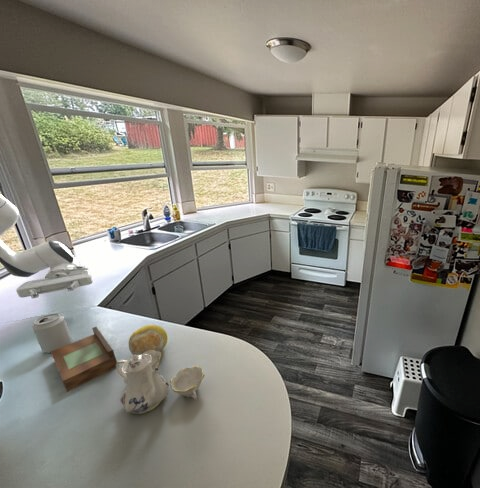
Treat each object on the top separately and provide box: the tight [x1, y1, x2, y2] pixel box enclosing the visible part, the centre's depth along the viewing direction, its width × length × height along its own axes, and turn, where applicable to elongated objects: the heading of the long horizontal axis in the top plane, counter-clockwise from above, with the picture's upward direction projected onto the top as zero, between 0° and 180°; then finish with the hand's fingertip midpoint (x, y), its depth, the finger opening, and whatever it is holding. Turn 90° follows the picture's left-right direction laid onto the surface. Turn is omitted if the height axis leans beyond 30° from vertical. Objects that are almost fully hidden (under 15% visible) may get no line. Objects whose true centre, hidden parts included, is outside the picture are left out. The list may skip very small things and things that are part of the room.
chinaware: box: [115, 350, 205, 416], centre depth 71 cm, size 28×17×17 cm, turn 74°
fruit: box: [128, 324, 168, 356], centre depth 85 cm, size 10×11×10 cm
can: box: [31, 312, 73, 354], centre depth 86 cm, size 8×8×12 cm
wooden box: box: [51, 326, 118, 392], centre depth 80 cm, size 12×18×7 cm, turn 53°
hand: (52, 292), depth 92 cm, fingers open, 8 cm apart
